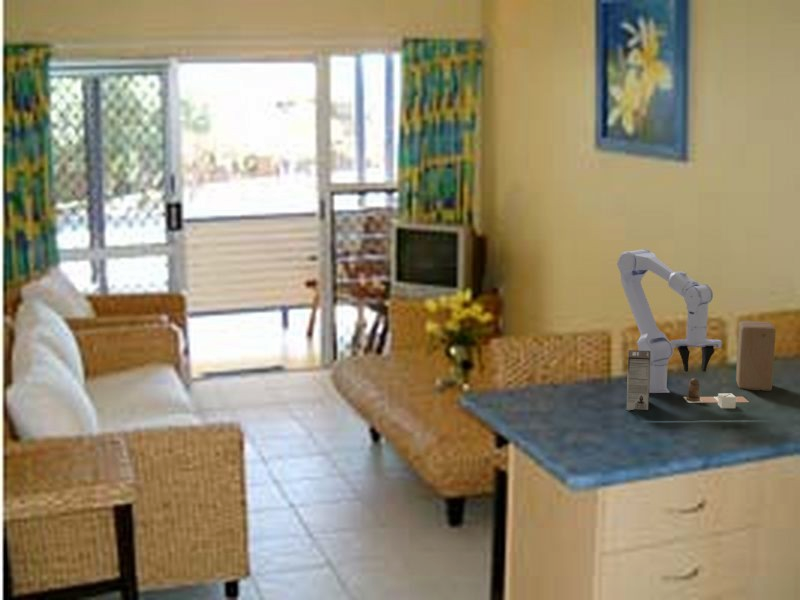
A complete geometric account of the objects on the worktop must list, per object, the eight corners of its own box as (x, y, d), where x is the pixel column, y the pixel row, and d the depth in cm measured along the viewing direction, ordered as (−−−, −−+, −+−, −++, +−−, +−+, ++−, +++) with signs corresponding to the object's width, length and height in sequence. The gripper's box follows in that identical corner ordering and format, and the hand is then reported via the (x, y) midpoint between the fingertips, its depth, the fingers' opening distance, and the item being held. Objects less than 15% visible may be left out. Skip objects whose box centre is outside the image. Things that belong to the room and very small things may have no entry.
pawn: (688, 401, 332) (689, 380, 330) (685, 397, 335) (686, 376, 334) (701, 401, 332) (702, 380, 330) (697, 397, 335) (698, 376, 334)
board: (688, 404, 331) (688, 402, 330) (683, 398, 337) (683, 396, 336) (749, 404, 331) (749, 402, 331) (742, 398, 337) (742, 396, 337)
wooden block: (772, 391, 344) (776, 328, 340) (738, 390, 346) (741, 326, 342) (768, 383, 354) (772, 321, 350) (735, 381, 355) (738, 320, 352)
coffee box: (626, 402, 333) (628, 349, 330) (648, 403, 332) (650, 350, 329) (626, 410, 325) (628, 356, 322) (648, 411, 323) (651, 357, 320)
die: (721, 410, 325) (722, 397, 324) (717, 406, 329) (718, 393, 328) (735, 410, 325) (736, 397, 324) (731, 406, 329) (731, 393, 328)
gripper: (675, 329, 325) (673, 374, 328) (725, 328, 325) (723, 374, 328) (669, 323, 332) (667, 368, 335) (718, 323, 332) (716, 368, 335)
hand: (694, 370), depth 332 cm, fingers open, 5 cm apart
